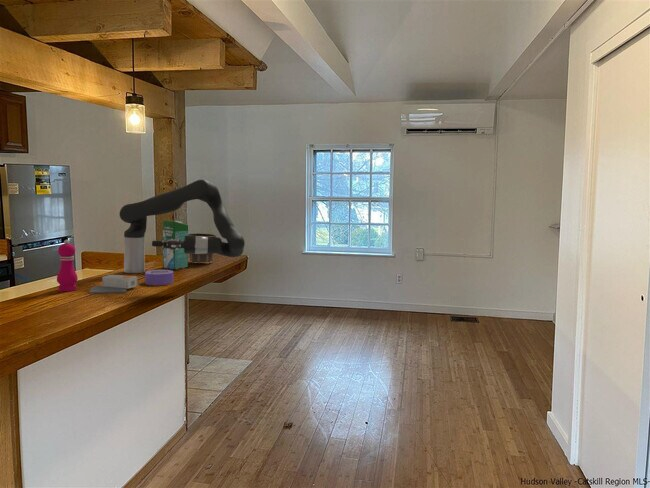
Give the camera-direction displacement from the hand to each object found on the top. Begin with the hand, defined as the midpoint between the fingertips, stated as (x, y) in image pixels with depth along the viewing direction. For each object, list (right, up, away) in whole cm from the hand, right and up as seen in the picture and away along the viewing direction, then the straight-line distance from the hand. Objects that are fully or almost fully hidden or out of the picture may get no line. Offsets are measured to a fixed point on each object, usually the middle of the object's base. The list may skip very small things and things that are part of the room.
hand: (152, 243), depth 192 cm
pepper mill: (-31, -19, -6) cm, 37 cm away
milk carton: (-8, -13, +56) cm, 58 cm away
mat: (-16, -19, -3) cm, 25 cm away
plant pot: (0, -11, +76) cm, 77 cm away
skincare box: (-8, -16, 0) cm, 18 cm away
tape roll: (-3, -18, +16) cm, 24 cm away
